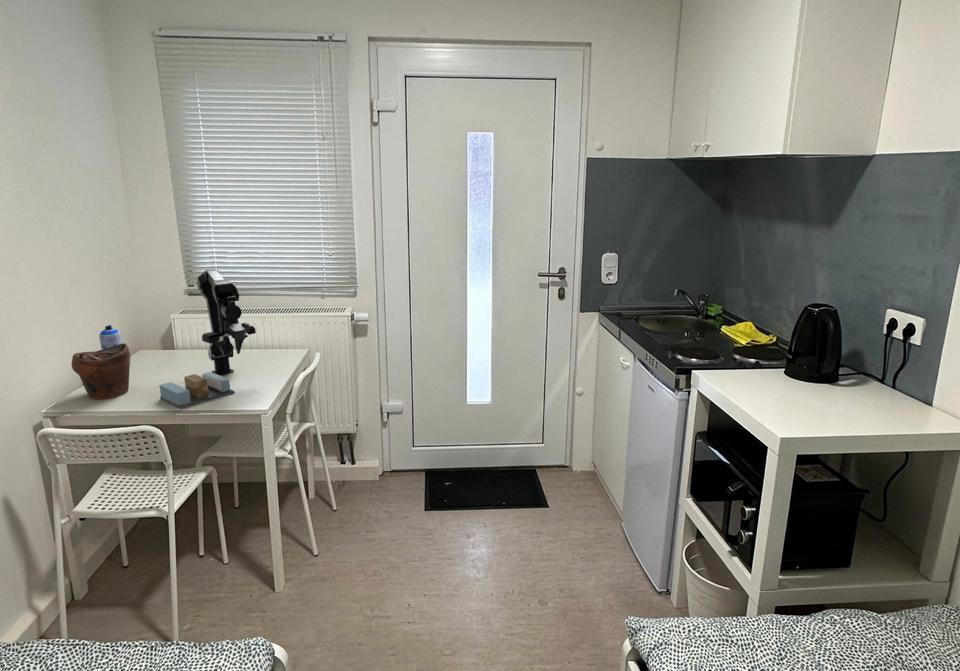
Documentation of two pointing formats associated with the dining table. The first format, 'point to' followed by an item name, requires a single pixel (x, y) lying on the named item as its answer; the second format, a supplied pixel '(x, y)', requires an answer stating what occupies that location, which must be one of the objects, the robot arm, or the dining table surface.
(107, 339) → the aerosol can
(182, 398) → the block
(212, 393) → the vise bed
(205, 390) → the walnut block
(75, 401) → the dining table surface
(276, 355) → the dining table surface
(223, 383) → the moving jaw
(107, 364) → the brown tapered container
